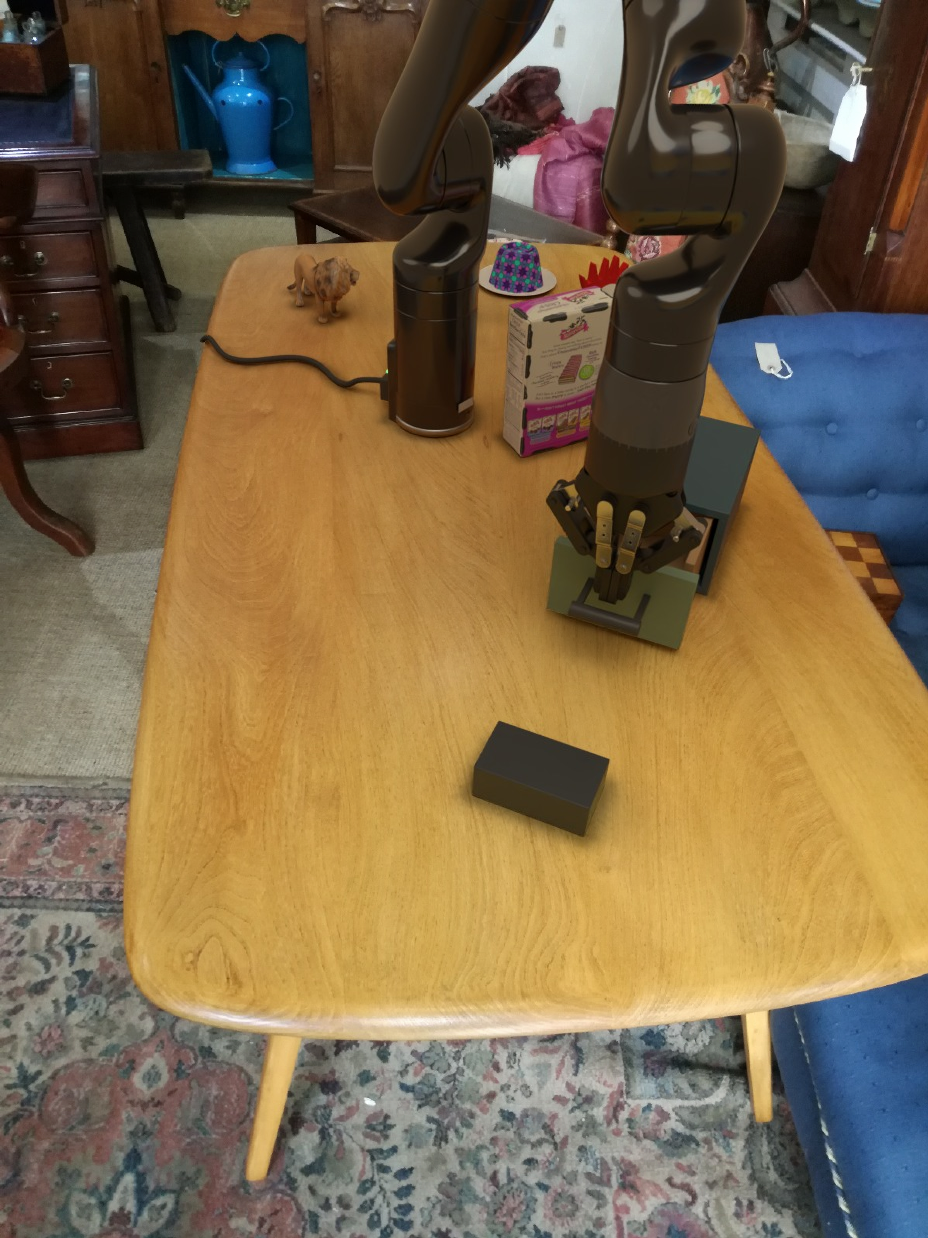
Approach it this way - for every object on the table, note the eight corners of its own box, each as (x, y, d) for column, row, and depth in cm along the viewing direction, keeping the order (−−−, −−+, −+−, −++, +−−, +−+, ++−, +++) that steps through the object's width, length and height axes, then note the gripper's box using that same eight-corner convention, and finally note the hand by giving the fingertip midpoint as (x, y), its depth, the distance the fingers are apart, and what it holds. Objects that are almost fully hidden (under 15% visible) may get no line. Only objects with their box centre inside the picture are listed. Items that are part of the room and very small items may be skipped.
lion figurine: (366, 321, 129) (364, 256, 122) (336, 333, 126) (332, 267, 120) (301, 287, 136) (296, 224, 130) (271, 297, 133) (264, 233, 127)
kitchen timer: (520, 361, 122) (530, 246, 111) (605, 339, 127) (621, 227, 117) (583, 411, 113) (599, 291, 103) (671, 384, 118) (695, 268, 108)
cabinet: (706, 595, 89) (729, 514, 82) (571, 556, 92) (583, 475, 86) (739, 507, 99) (761, 429, 93) (616, 475, 103) (629, 398, 96)
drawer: (664, 687, 79) (682, 620, 73) (527, 643, 82) (534, 575, 77) (714, 555, 92) (732, 490, 86) (594, 522, 95) (604, 457, 90)
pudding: (568, 277, 142) (571, 242, 138) (537, 307, 134) (540, 271, 130) (496, 261, 145) (498, 226, 142) (462, 289, 137) (463, 253, 134)
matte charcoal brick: (471, 795, 71) (473, 766, 69) (496, 748, 74) (498, 719, 72) (583, 837, 69) (589, 809, 66) (604, 787, 72) (610, 758, 70)
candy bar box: (579, 416, 112) (597, 283, 101) (602, 437, 109) (623, 301, 98) (498, 437, 108) (507, 301, 97) (520, 459, 105) (531, 320, 94)
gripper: (747, 413, 67) (697, 593, 79) (573, 371, 70) (550, 549, 82) (725, 466, 62) (675, 650, 74) (539, 418, 65) (519, 600, 77)
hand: (609, 596), depth 78 cm, fingers closed
